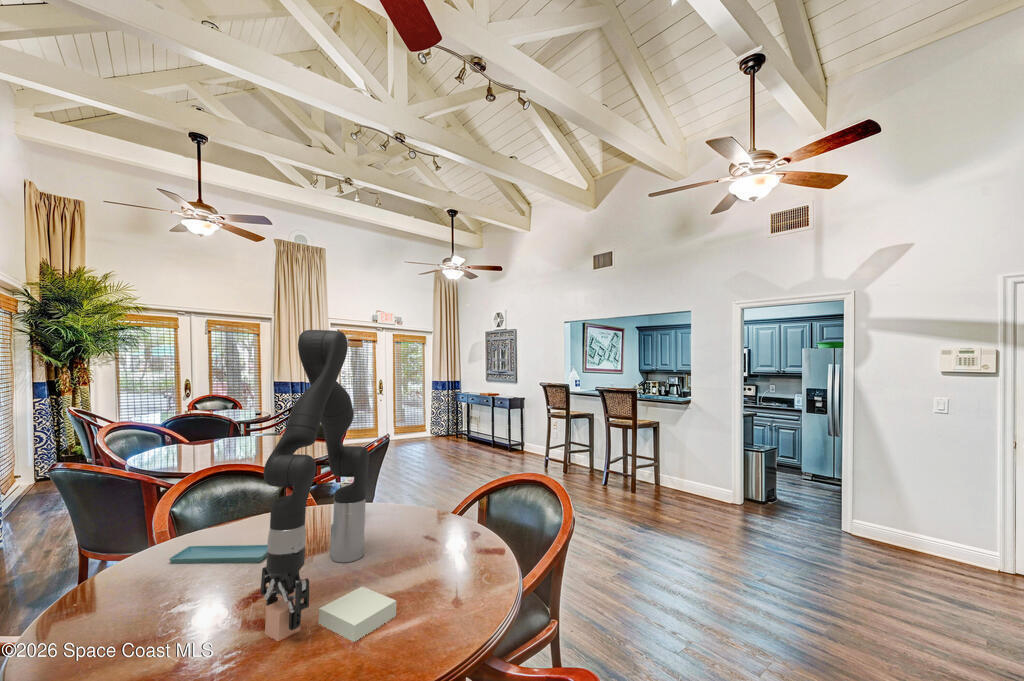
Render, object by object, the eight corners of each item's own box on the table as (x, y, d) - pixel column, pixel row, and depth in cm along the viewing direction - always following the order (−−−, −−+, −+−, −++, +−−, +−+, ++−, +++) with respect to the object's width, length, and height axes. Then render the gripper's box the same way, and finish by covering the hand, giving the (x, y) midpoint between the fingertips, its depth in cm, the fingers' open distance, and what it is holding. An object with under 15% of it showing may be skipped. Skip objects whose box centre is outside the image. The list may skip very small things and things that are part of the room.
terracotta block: (264, 634, 96) (266, 606, 96) (286, 623, 100) (287, 596, 101) (278, 642, 94) (279, 613, 94) (300, 630, 98) (301, 602, 98)
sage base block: (318, 626, 100) (319, 608, 100) (361, 602, 110) (362, 586, 110) (353, 645, 94) (354, 625, 94) (395, 618, 104) (396, 600, 104)
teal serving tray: (167, 566, 128) (168, 557, 128) (188, 552, 137) (189, 544, 137) (260, 565, 129) (260, 556, 129) (275, 552, 138) (275, 544, 139)
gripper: (251, 544, 98) (247, 620, 97) (289, 559, 91) (285, 641, 90) (283, 534, 105) (280, 604, 104) (322, 547, 97) (318, 624, 96)
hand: (282, 621), depth 97 cm, fingers open, 8 cm apart
